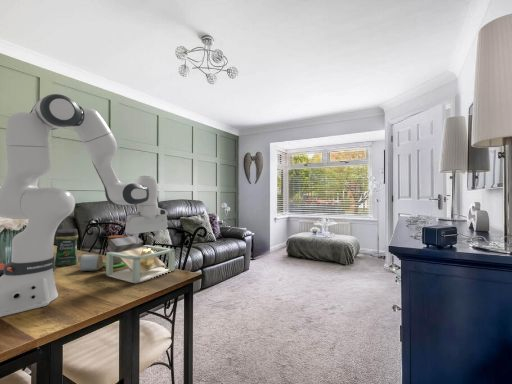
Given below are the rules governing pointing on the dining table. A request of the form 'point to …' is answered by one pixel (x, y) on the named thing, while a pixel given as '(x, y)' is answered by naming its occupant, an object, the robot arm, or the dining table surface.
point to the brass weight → (147, 261)
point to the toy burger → (116, 260)
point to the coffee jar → (66, 247)
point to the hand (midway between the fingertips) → (147, 241)
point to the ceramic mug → (91, 262)
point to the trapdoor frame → (136, 275)
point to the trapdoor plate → (131, 252)
